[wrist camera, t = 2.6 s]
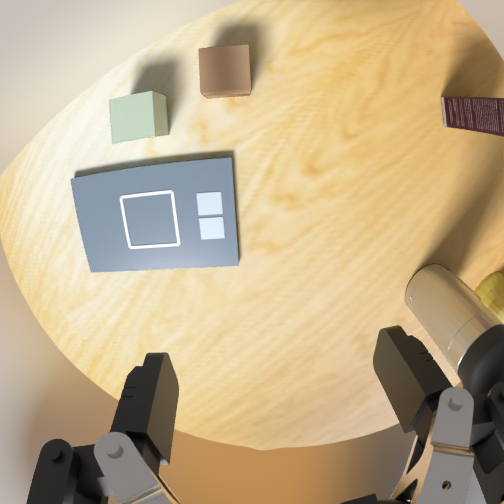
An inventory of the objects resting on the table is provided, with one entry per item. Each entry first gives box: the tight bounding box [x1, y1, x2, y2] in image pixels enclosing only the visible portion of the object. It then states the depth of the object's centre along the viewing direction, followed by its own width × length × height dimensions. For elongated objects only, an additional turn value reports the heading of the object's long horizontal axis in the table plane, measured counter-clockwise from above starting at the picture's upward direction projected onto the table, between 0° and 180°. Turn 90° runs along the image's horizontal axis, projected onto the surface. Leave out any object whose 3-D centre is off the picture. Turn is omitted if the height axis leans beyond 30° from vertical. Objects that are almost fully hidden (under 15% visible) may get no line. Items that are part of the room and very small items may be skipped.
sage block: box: [109, 91, 169, 144], centre depth 29 cm, size 5×5×6 cm
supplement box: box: [441, 97, 504, 136], centre depth 24 cm, size 9×5×16 cm, turn 100°
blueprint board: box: [71, 157, 239, 272], centre depth 37 cm, size 22×14×1 cm, turn 93°
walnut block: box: [199, 45, 251, 99], centre depth 28 cm, size 5×5×6 cm
